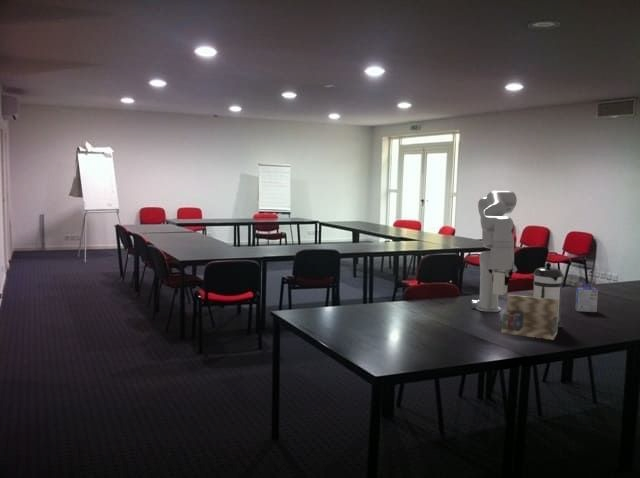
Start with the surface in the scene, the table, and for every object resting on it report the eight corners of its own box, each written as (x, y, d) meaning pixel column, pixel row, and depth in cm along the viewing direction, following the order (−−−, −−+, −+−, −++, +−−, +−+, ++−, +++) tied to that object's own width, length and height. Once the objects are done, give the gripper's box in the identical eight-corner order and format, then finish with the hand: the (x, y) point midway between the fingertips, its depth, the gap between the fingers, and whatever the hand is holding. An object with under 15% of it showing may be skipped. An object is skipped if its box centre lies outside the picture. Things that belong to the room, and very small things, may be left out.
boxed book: (492, 293, 247) (493, 272, 246) (497, 291, 254) (498, 269, 253) (502, 295, 244) (503, 273, 243) (507, 292, 251) (508, 270, 250)
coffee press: (568, 324, 261) (571, 262, 258) (555, 330, 250) (558, 266, 246) (532, 317, 273) (535, 258, 270) (518, 323, 262) (521, 262, 259)
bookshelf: (501, 332, 245) (502, 299, 244) (506, 326, 256) (508, 294, 254) (553, 340, 234) (555, 304, 233) (557, 333, 244) (558, 299, 243)
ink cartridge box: (594, 310, 290) (595, 283, 289) (597, 312, 285) (598, 285, 283) (574, 309, 292) (575, 282, 291) (577, 311, 287) (578, 284, 285)
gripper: (481, 244, 248) (479, 283, 250) (519, 247, 239) (517, 287, 241) (485, 243, 254) (484, 281, 256) (523, 245, 245) (521, 285, 247)
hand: (500, 283), depth 249 cm, fingers closed on boxed book, 4 cm apart
